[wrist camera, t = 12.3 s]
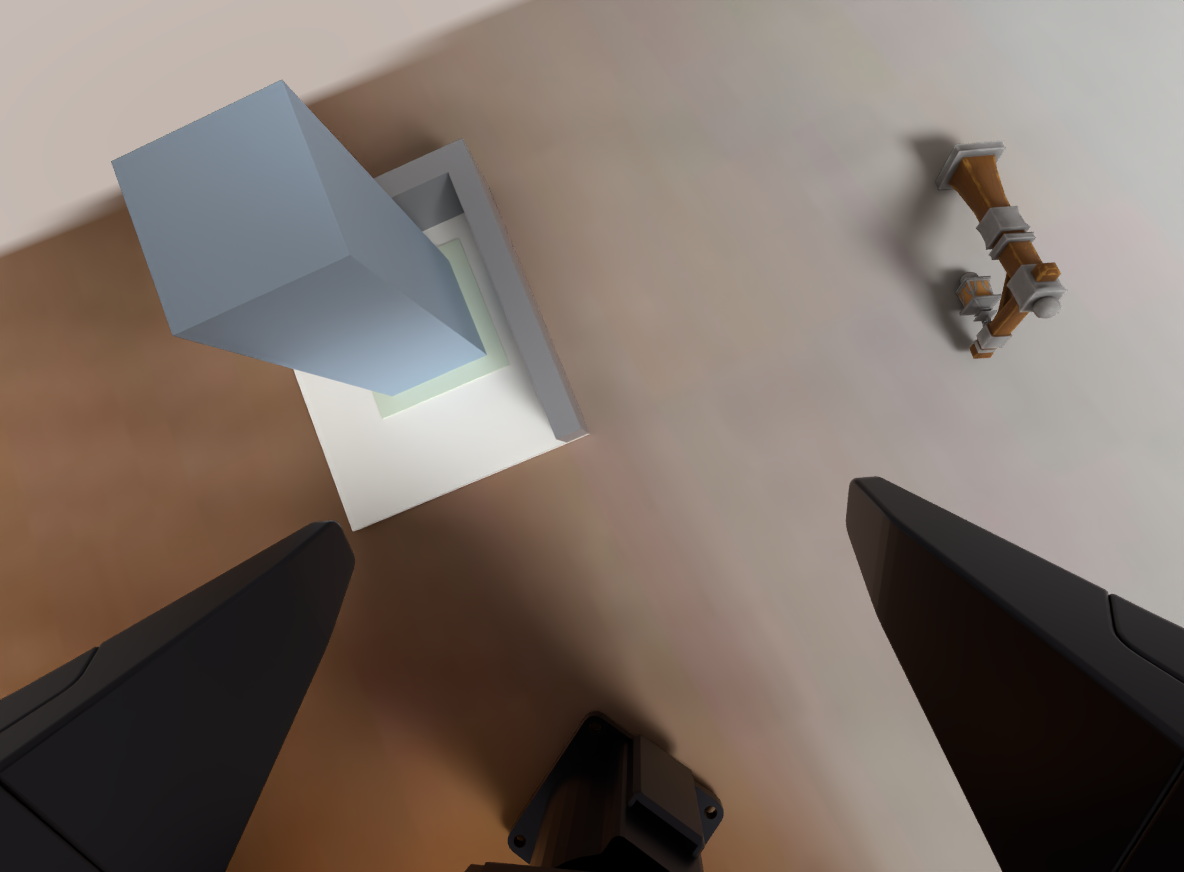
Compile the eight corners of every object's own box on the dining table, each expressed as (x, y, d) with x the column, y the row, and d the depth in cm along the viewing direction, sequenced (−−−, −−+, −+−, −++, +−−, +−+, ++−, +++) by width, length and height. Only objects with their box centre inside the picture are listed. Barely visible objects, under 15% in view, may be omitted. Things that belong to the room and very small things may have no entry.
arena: (589, 433, 23) (581, 428, 19) (358, 529, 24) (310, 541, 20) (487, 185, 24) (462, 137, 20) (268, 284, 25) (207, 254, 21)
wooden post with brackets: (964, 378, 21) (1038, 300, 17) (908, 232, 25) (957, 139, 21) (1013, 375, 21) (1099, 296, 17) (949, 228, 25) (1007, 134, 21)
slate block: (487, 355, 23) (349, 254, 12) (392, 396, 23) (172, 335, 12) (447, 257, 23) (279, 73, 12) (354, 299, 24) (109, 155, 13)
